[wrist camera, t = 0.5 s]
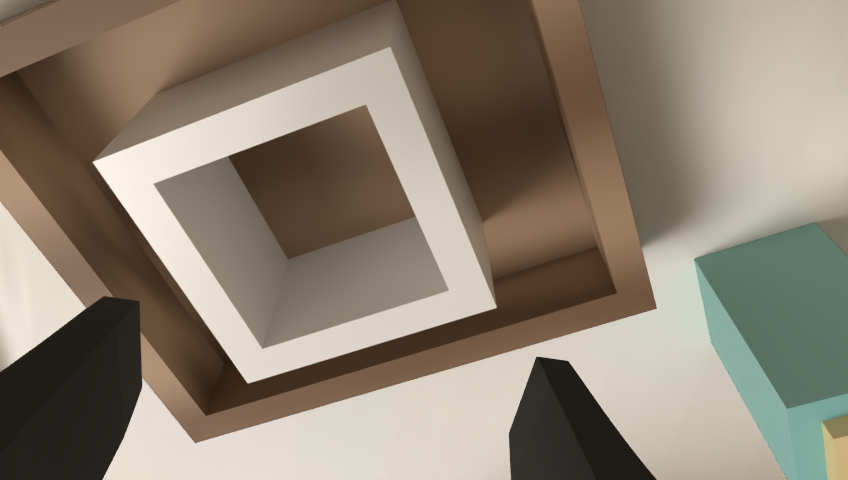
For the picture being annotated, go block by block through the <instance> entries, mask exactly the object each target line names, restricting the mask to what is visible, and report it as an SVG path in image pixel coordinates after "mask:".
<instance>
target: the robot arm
mask: <svg viewBox="0 0 848 480" xmlns="http://www.w3.org/2000/svg"><path fill="white" fill-rule="evenodd" d="M141 389H142V363H141V332H140V302H139V301H136V300H129V299H121V298H114V297H107V296H103V297H102V298H100V299H99V300H97V301H96V302H94V303H93V304H92V305H90V306H89V307H88V308H86V309H85V310H84V311H82V312H81V313H80V314H78V315H77V316H76V317H75V318H73V319H72V320H71V321H69V322H68V323H67V324H65V325H64V326H63V327H61V328H60V329H59V330H57V331H56V332H55V333H53V334H52V335H51V336H49V337H48V338H47V339H45V340H44V341H43V342H41V343H40V344H39V345H37V346H36V347H35V348H33V349H32V350H30V351H29V352H28V353H26V354H25V355H23V356H22V357H21V358H19V359H18V360H17V361H15V362H14V363H12V364H11V365H10V366H8V367H7V368H5V369H4V370H3V371H1V372H0V480H102V479H103V477H104V475H105V473H106V471H107V469H108V467H109V466H110V464H111V462H112V460H113V458H114V456H115V454H116V452H117V450H118V448H119V446H120V444H121V442H122V440H123V438H124V435H125V433H126V430H127V427H128V425H129V422H130V419H131V417H132V414H133V411H134V409H135V406H136V403H137V400H138V397H139V395H140V392H141ZM509 445H510V467H511V480H656V478H655V477H654V476H653V475H652V474H651V472H650V471H649V470H648V469H647V468H646V466H645V465H644V464H643V463H642V461H641V460H640V459H639V458H638V456H637V455H636V454H635V453H634V451H633V450H632V449H631V447H630V446H629V445H628V444H627V442H626V441H625V440H624V438H623V437H622V436H621V434H620V433H619V432H618V430H617V429H616V428H615V426H614V425H613V423H612V422H611V421H610V419H609V418H608V417H607V415H606V414H605V412H604V411H603V410H602V408H601V407H600V405H599V404H598V403H597V401H596V400H595V398H594V397H593V396H592V394H591V393H590V391H589V390H588V388H587V387H586V386H585V384H584V383H583V381H582V380H581V378H580V377H579V376H578V374H577V373H576V371H575V370H574V368H573V367H572V366H571V364H570V363H569V362H568V361H564V360H557V359H550V358H543V357H536V360H535V362H534V365H533V368H532V371H531V374H530V376H529V379H528V382H527V385H526V388H525V390H524V393H523V396H522V399H521V401H520V404H519V407H518V410H517V413H516V415H515V418H514V421H513V424H512V427H511V429H510V432H509Z"/></svg>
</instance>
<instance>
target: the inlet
mask: <svg viewBox="0 0 848 480" xmlns="http://www.w3.org/2000/svg"><path fill="white" fill-rule="evenodd" d="M363 105H366V106H367V108H368V110H369V113H370V115H371V117H372V119H373V121H374V124H375V126H376V128H377V130H378V133H379V135H380V137H381V139H382V142H383V144H384V146H385V148H386V151H387V153H388V155H389V157H390V159H391V162H392V164H393V166H394V168H395V171H396V173H397V175H398V177H399V180H400V182H401V184H402V186H403V189H404V191H405V193H406V195H407V197H408V200H409V202H410V204H411V206H412V209H413V211H414V213H415V215H416V217H413V218H410V219H407V220H404V221H401V222H398V223H395V224H392V225H389V226H386V227H383V228H380V229H377V230H374V231H371V232H368V233H365V234H362V235H359V236H356V237H353V238H350V239H347V240H344V241H341V242H338V243H335V244H332V245H330V246H327V247H324V248H321V249H318V250H315V251H312V252H309V253H306V254H303V255H300V256H297V257H294V258H291V259H287V257H286V255H285V254H284V252H283V250H282V248H281V247H280V245H279V243H278V242H277V240H276V238H275V236H274V235H273V233H272V231H271V230H270V228H269V226H268V224H267V223H266V221H265V219H264V218H263V216H262V214H261V212H260V211H259V209H258V207H257V206H256V204H255V202H254V200H253V199H252V197H251V195H250V194H249V192H248V190H247V188H246V187H245V185H244V183H243V182H242V180H241V178H240V176H239V175H238V173H237V171H236V170H235V168H234V166H233V165H232V163H231V161H230V159H229V158H228V156H229V155H232V154H234V153H237V152H240V151H243V150H245V149H248V148H251V147H253V146H256V145H259V144H261V143H264V142H267V141H269V140H272V139H275V138H277V137H280V136H283V135H285V134H288V133H291V132H293V131H296V130H299V129H301V128H304V127H307V126H309V125H312V124H315V123H318V122H320V121H323V120H326V119H328V118H331V117H334V116H336V115H339V114H342V113H344V112H347V111H350V110H352V109H355V108H358V107H360V106H363ZM93 164H94V165H95V166H96V168H97V169H98V171H99V172H100V174H101V175H102V176H103V178H104V179H105V181H106V182H107V184H108V185H109V186H110V188H111V189H112V191H113V192H114V194H115V195H116V196H117V198H118V199H119V201H120V202H121V204H122V205H123V206H124V208H125V209H126V211H127V212H128V213H129V215H130V216H131V218H132V219H133V221H134V222H135V223H136V225H137V226H138V228H139V229H140V231H141V232H142V233H143V235H144V236H145V238H146V239H147V241H148V242H149V243H150V245H151V246H152V248H153V249H154V251H155V252H156V253H157V255H158V256H159V258H160V259H161V261H162V262H163V263H164V265H165V266H166V268H167V269H168V271H169V272H170V273H171V275H172V276H173V278H174V279H175V281H176V282H177V283H178V285H179V286H180V288H181V289H182V290H183V292H184V293H185V295H186V296H187V298H188V299H189V300H190V302H191V303H192V305H193V306H194V308H195V309H196V310H197V312H198V313H199V315H200V316H201V318H202V319H203V320H204V322H205V323H206V325H207V326H208V328H209V329H210V330H211V332H212V333H213V335H214V336H215V338H216V339H217V340H218V342H219V343H220V345H221V346H222V348H223V349H224V350H225V352H226V353H227V355H228V356H229V358H230V359H231V360H232V362H233V363H234V365H235V366H236V367H237V369H238V370H239V372H240V373H241V375H242V376H243V377H244V379H245V380H246V382H247V383H251V382H255V381H258V380H261V379H265V378H268V377H271V376H274V375H278V374H281V373H284V372H288V371H291V370H294V369H297V368H301V367H304V366H307V365H311V364H314V363H317V362H320V361H324V360H327V359H330V358H334V357H337V356H340V355H343V354H347V353H350V352H353V351H357V350H360V349H363V348H366V347H370V346H373V345H376V344H380V343H383V342H386V341H389V340H393V339H396V338H399V337H403V336H406V335H409V334H412V333H416V332H419V331H422V330H426V329H429V328H432V327H435V326H439V325H442V324H445V323H449V322H452V321H455V320H458V319H462V318H465V317H468V316H472V315H475V314H478V313H481V312H485V311H488V310H491V309H495V308H497V305H496V299H495V293H494V287H493V281H492V275H491V269H490V262H489V256H488V250H487V244H486V238H485V232H484V226H483V222H482V219H481V216H480V214H479V211H478V209H477V206H476V204H475V201H474V198H473V196H472V193H471V191H470V188H469V186H468V183H467V180H466V178H465V175H464V173H463V170H462V168H461V165H460V163H459V160H458V157H457V155H456V152H455V150H454V147H453V145H452V142H451V139H450V137H449V134H448V132H447V129H446V127H445V124H444V121H443V119H442V116H441V114H440V111H439V109H438V106H437V104H436V101H435V98H434V96H433V93H432V91H431V88H430V86H429V83H428V80H427V78H426V75H425V73H424V70H423V68H422V65H421V63H420V60H419V57H418V55H417V52H416V50H415V47H414V45H413V42H412V39H411V37H410V34H409V32H408V29H407V27H406V24H405V21H404V19H403V16H402V14H401V11H400V9H399V6H398V4H397V1H396V0H390V1H388V2H385V3H383V4H380V5H378V6H375V7H373V8H370V9H368V10H365V11H363V12H360V13H358V14H355V15H353V16H350V17H348V18H345V19H343V20H340V21H338V22H335V23H333V24H330V25H328V26H325V27H323V28H320V29H318V30H315V31H313V32H310V33H308V34H305V35H303V36H300V37H298V38H295V39H293V40H290V41H288V42H285V43H283V44H280V45H278V46H275V47H273V48H270V49H268V50H265V51H263V52H260V53H258V54H255V55H253V56H250V57H248V58H245V59H243V60H240V61H238V62H235V63H233V64H230V65H228V66H225V67H223V68H220V69H218V70H215V71H213V72H210V73H208V74H205V75H203V76H200V77H198V78H195V79H193V80H190V81H188V82H185V83H183V84H180V85H178V86H175V87H173V88H170V89H168V90H165V91H163V92H160V93H158V94H155V95H154V96H153V97H152V98H151V99H150V100H149V101H148V102H147V103H146V104H145V106H144V107H143V108H142V109H141V110H140V111H139V112H138V113H137V114H136V115H135V116H134V117H133V119H132V120H131V121H130V122H129V123H128V124H127V125H126V126H125V127H124V128H123V129H122V130H121V132H120V133H119V134H118V135H117V136H116V137H115V138H114V139H113V140H112V141H111V142H110V143H109V145H108V146H107V147H106V148H105V149H104V150H103V151H102V152H101V153H100V154H99V155H98V156H97V158H96V159H95V160H94V161H93Z"/></svg>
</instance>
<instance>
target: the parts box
mask: <svg viewBox="0 0 848 480" xmlns="http://www.w3.org/2000/svg"><path fill="white" fill-rule="evenodd" d="M388 1H390V0H50V1H48V2H46V3H44V4H41V5H39V6H37V7H35V8H32V9H30V10H28V11H26V12H23V13H21V14H19V15H17V16H14V17H12V18H10V19H7V20H5V21H3V22H1V23H0V202H1V203H2V204H3V205H4V207H5V208H6V209H7V210H8V211H9V213H10V214H11V215H12V216H13V218H14V219H15V220H16V221H17V223H18V224H19V225H20V226H21V228H22V229H23V230H24V231H25V233H26V234H27V235H28V236H29V238H30V239H31V240H32V241H33V242H34V244H35V245H36V246H37V247H38V249H39V250H40V251H41V252H42V254H43V255H44V256H45V257H46V259H47V260H48V261H49V262H50V264H51V265H52V266H53V267H54V269H55V270H56V271H57V272H58V274H59V275H60V276H61V277H62V278H63V280H64V281H65V282H66V283H67V285H68V286H69V287H70V288H71V290H72V291H73V292H74V293H75V295H76V296H77V297H78V298H79V300H80V301H81V302H82V303H83V305H84V306H85V307H86V308H88V307H89V306H90V305H92V304H93V303H94V302H96V301H97V300H99V299H100V298H102V297H103V296H107V297H114V298H121V299H129V300H136V301H139V302H140V332H141V363H142V378H143V379H144V380H145V381H146V383H147V384H148V385H149V386H150V388H151V389H152V390H153V391H154V393H155V394H156V395H157V396H158V398H159V399H160V400H161V401H162V402H163V404H164V405H165V406H166V407H167V409H168V410H169V411H170V412H171V414H172V415H173V416H174V417H175V419H176V420H177V421H178V422H179V424H180V425H181V426H182V427H183V429H184V430H185V431H186V432H187V433H188V435H189V436H190V437H191V438H192V440H193V441H194V442H195V443H197V442H200V441H204V440H207V439H211V438H214V437H218V436H221V435H224V434H228V433H231V432H235V431H238V430H242V429H245V428H248V427H252V426H255V425H259V424H262V423H266V422H269V421H272V420H276V419H279V418H283V417H286V416H290V415H293V414H297V413H300V412H303V411H307V410H310V409H314V408H317V407H321V406H324V405H327V404H331V403H334V402H338V401H341V400H345V399H348V398H351V397H355V396H358V395H362V394H365V393H369V392H372V391H375V390H379V389H382V388H386V387H389V386H393V385H396V384H399V383H403V382H406V381H410V380H413V379H417V378H420V377H423V376H427V375H430V374H434V373H437V372H441V371H444V370H447V369H451V368H454V367H458V366H461V365H465V364H468V363H472V362H475V361H478V360H482V359H485V358H489V357H492V356H496V355H499V354H502V353H506V352H509V351H513V350H516V349H520V348H523V347H526V346H530V345H533V344H537V343H540V342H544V341H547V340H550V339H554V338H557V337H561V336H564V335H568V334H571V333H574V332H578V331H581V330H585V329H588V328H592V327H595V326H598V325H602V324H605V323H609V322H612V321H616V320H619V319H622V318H626V317H629V316H633V315H636V314H640V313H643V312H647V311H650V310H653V309H657V307H656V303H655V299H654V295H653V291H652V287H651V284H650V280H649V276H648V272H647V268H646V264H645V260H644V256H643V252H642V248H641V244H640V240H639V236H638V232H637V228H636V224H635V221H634V217H633V213H632V209H631V205H630V201H629V197H628V193H627V189H626V185H625V181H624V177H623V173H622V169H621V165H620V161H619V158H618V154H617V150H616V146H615V142H614V138H613V134H612V130H611V126H610V122H609V118H608V114H607V110H606V106H605V102H604V98H603V94H602V91H601V87H600V83H599V79H598V75H597V71H596V67H595V63H594V59H593V55H592V51H591V47H590V43H589V39H588V35H587V31H586V28H585V24H584V20H583V16H582V12H581V8H580V4H579V0H396V1H397V4H398V6H399V9H400V11H401V14H402V16H403V19H404V21H405V24H406V27H407V29H408V32H409V34H410V37H411V39H412V42H413V45H414V47H415V50H416V52H417V55H418V57H419V60H420V63H421V65H422V68H423V70H424V73H425V75H426V78H427V80H428V83H429V86H430V88H431V91H432V93H433V96H434V98H435V101H436V104H437V106H438V109H439V111H440V114H441V116H442V119H443V121H444V124H445V127H446V129H447V132H448V134H449V137H450V139H451V142H452V145H453V147H454V150H455V152H456V155H457V157H458V160H459V163H460V165H461V168H462V170H463V173H464V175H465V178H466V180H467V183H468V186H469V188H470V191H471V193H472V196H473V198H474V201H475V204H476V206H477V209H478V211H479V214H480V216H481V219H482V222H483V226H484V232H485V238H486V244H487V250H488V256H489V262H490V269H491V275H492V281H493V287H494V293H495V299H496V305H497V308H495V309H491V310H488V311H485V312H481V313H478V314H475V315H472V316H468V317H465V318H462V319H458V320H455V321H452V322H449V323H445V324H442V325H439V326H435V327H432V328H429V329H426V330H422V331H419V332H416V333H412V334H409V335H406V336H403V337H399V338H396V339H393V340H389V341H386V342H383V343H380V344H376V345H373V346H370V347H366V348H363V349H360V350H357V351H353V352H350V353H347V354H343V355H340V356H337V357H334V358H330V359H327V360H324V361H320V362H317V363H314V364H311V365H307V366H304V367H301V368H297V369H294V370H291V371H288V372H284V373H281V374H278V375H274V376H271V377H268V378H265V379H261V380H258V381H255V382H251V383H247V382H246V380H245V379H244V377H243V376H242V375H241V373H240V372H239V370H238V369H237V367H236V366H235V365H234V363H233V362H232V360H231V359H230V358H229V356H228V355H227V353H226V352H225V350H224V349H223V348H222V346H221V345H220V343H219V342H218V340H217V339H216V338H215V336H214V335H213V333H212V332H211V330H210V329H209V328H208V326H207V325H206V323H205V322H204V320H203V319H202V318H201V316H200V315H199V313H198V312H197V310H196V309H195V308H194V306H193V305H192V303H191V302H190V300H189V299H188V298H187V296H186V295H185V293H184V292H183V290H182V289H181V288H180V286H179V285H178V283H177V282H176V281H175V279H174V278H173V276H172V275H171V273H170V272H169V271H168V269H167V268H166V266H165V265H164V263H163V262H162V261H161V259H160V258H159V256H158V255H157V253H156V252H155V251H154V249H153V248H152V246H151V245H150V243H149V242H148V241H147V239H146V238H145V236H144V235H143V233H142V232H141V231H140V229H139V228H138V226H137V225H136V223H135V222H134V221H133V219H132V218H131V216H130V215H129V213H128V212H127V211H126V209H125V208H124V206H123V205H122V204H121V202H120V201H119V199H118V198H117V196H116V195H115V194H114V192H113V191H112V189H111V188H110V186H109V185H108V184H107V182H106V181H105V179H104V178H103V176H102V175H101V174H100V172H99V171H98V169H97V168H96V166H95V165H94V164H93V161H94V160H95V159H96V158H97V156H98V155H99V154H100V153H101V152H102V151H103V150H104V149H105V148H106V147H107V146H108V145H109V143H110V142H111V141H112V140H113V139H114V138H115V137H116V136H117V135H118V134H119V133H120V132H121V130H122V129H123V128H124V127H125V126H126V125H127V124H128V123H129V122H130V121H131V120H132V119H133V117H134V116H135V115H136V114H137V113H138V112H139V111H140V110H141V109H142V108H143V107H144V106H145V104H146V103H147V102H148V101H149V100H150V99H151V98H152V97H153V96H154V95H155V94H158V93H160V92H163V91H165V90H168V89H170V88H173V87H175V86H178V85H180V84H183V83H185V82H188V81H190V80H193V79H195V78H198V77H200V76H203V75H205V74H208V73H210V72H213V71H215V70H218V69H220V68H223V67H225V66H228V65H230V64H233V63H235V62H238V61H240V60H243V59H245V58H248V57H250V56H253V55H255V54H258V53H260V52H263V51H265V50H268V49H270V48H273V47H275V46H278V45H280V44H283V43H285V42H288V41H290V40H293V39H295V38H298V37H300V36H303V35H305V34H308V33H310V32H313V31H315V30H318V29H320V28H323V27H325V26H328V25H330V24H333V23H335V22H338V21H340V20H343V19H345V18H348V17H350V16H353V15H355V14H358V13H360V12H363V11H365V10H368V9H370V8H373V7H375V6H378V5H380V4H383V3H385V2H388ZM228 158H229V159H230V161H231V163H232V165H233V166H234V168H235V170H236V171H237V173H238V175H239V176H240V178H241V180H242V182H243V183H244V185H245V187H246V188H247V190H248V192H249V194H250V195H251V197H252V199H253V200H254V202H255V204H256V206H257V207H258V209H259V211H260V212H261V214H262V216H263V218H264V219H265V221H266V223H267V224H268V226H269V228H270V230H271V231H272V233H273V235H274V236H275V238H276V240H277V242H278V243H279V245H280V247H281V248H282V250H283V252H284V254H285V255H286V257H287V259H291V258H294V257H297V256H300V255H303V254H306V253H309V252H312V251H315V250H318V249H321V248H324V247H327V246H330V245H332V244H335V243H338V242H341V241H344V240H347V239H350V238H353V237H356V236H359V235H362V234H365V233H368V232H371V231H374V230H377V229H380V228H383V227H386V226H389V225H392V224H395V223H398V222H401V221H404V220H407V219H410V218H413V217H416V215H415V213H414V211H413V209H412V206H411V204H410V202H409V200H408V197H407V195H406V193H405V191H404V189H403V186H402V184H401V182H400V180H399V177H398V175H397V173H396V171H395V168H394V166H393V164H392V162H391V159H390V157H389V155H388V153H387V151H386V148H385V146H384V144H383V142H382V139H381V137H380V135H379V133H378V130H377V128H376V126H375V124H374V121H373V119H372V117H371V115H370V113H369V110H368V108H367V106H366V105H363V106H360V107H358V108H355V109H352V110H350V111H347V112H344V113H342V114H339V115H336V116H334V117H331V118H328V119H326V120H323V121H320V122H318V123H315V124H312V125H309V126H307V127H304V128H301V129H299V130H296V131H293V132H291V133H288V134H285V135H283V136H280V137H277V138H275V139H272V140H269V141H267V142H264V143H261V144H259V145H256V146H253V147H251V148H248V149H245V150H243V151H240V152H237V153H234V154H232V155H229V156H228Z"/></svg>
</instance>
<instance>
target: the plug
mask: <svg viewBox="0 0 848 480" xmlns="http://www.w3.org/2000/svg"><path fill="white" fill-rule="evenodd" d="M694 262H695V266H696V271H697V276H698V281H699V286H700V291H701V295H702V300H703V305H704V310H705V315H706V319H707V324H708V329H709V334H710V339H711V343H712V345H713V347H714V348H715V350H716V352H717V354H718V356H719V357H720V359H721V361H722V363H723V365H724V366H725V368H726V370H727V372H728V374H729V375H730V377H731V379H732V381H733V383H734V384H735V386H736V388H737V390H738V392H739V393H740V395H741V397H742V399H743V401H744V402H745V404H746V406H747V408H748V410H749V411H750V413H751V415H752V417H753V419H754V420H755V422H756V424H757V426H758V428H759V429H760V431H761V433H762V435H763V437H764V438H765V440H766V442H767V444H768V446H769V447H770V449H771V451H772V453H773V455H774V456H775V458H776V460H777V462H778V464H779V465H780V467H781V469H782V471H783V473H784V474H785V476H786V478H787V480H848V256H847V255H846V254H845V253H844V252H843V251H842V250H841V249H840V248H839V247H838V246H837V245H836V244H835V243H834V242H833V241H832V240H831V239H830V238H829V236H828V235H827V234H826V233H825V232H824V231H823V230H822V229H821V228H820V227H819V226H818V225H817V224H816V223H815V222H814V223H811V224H808V225H804V226H801V227H798V228H794V229H791V230H788V231H784V232H781V233H778V234H775V235H771V236H768V237H765V238H761V239H758V240H755V241H751V242H748V243H745V244H741V245H738V246H735V247H731V248H728V249H725V250H721V251H718V252H715V253H712V254H708V255H705V256H702V257H698V258H695V259H694Z"/></svg>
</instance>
